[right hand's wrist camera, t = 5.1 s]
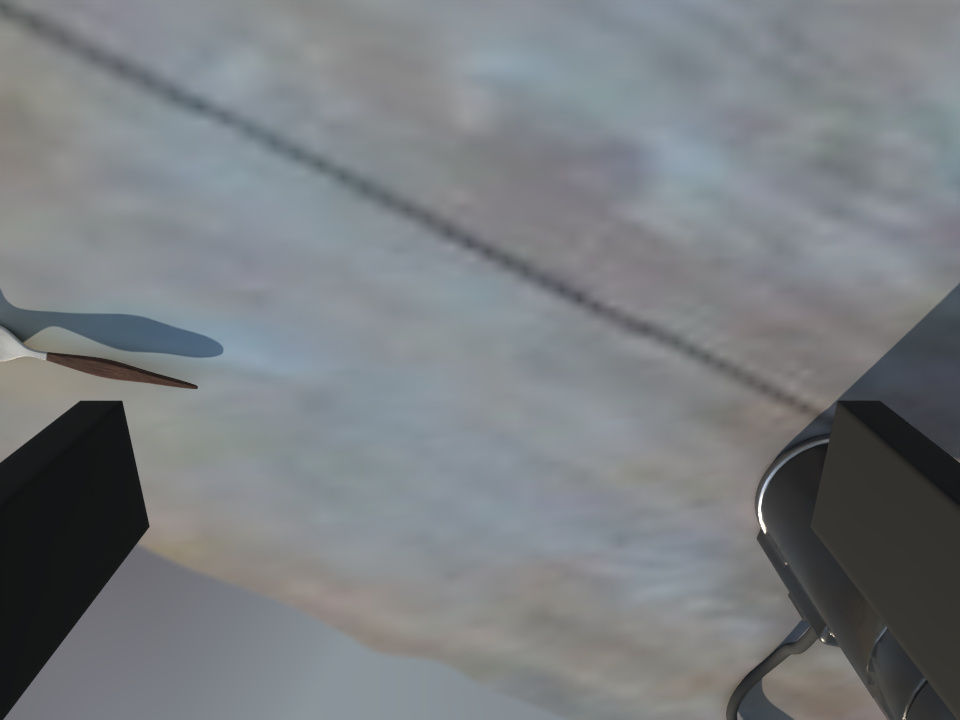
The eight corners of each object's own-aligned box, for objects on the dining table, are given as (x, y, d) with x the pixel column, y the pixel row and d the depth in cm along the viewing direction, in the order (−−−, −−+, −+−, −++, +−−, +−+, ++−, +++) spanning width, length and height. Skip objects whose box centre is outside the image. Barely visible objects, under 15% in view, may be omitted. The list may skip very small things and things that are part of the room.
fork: (199, 402, 43) (186, 416, 41) (-62, 348, 42) (-88, 361, 40) (202, 365, 42) (189, 378, 40) (-65, 309, 41) (-91, 319, 39)
